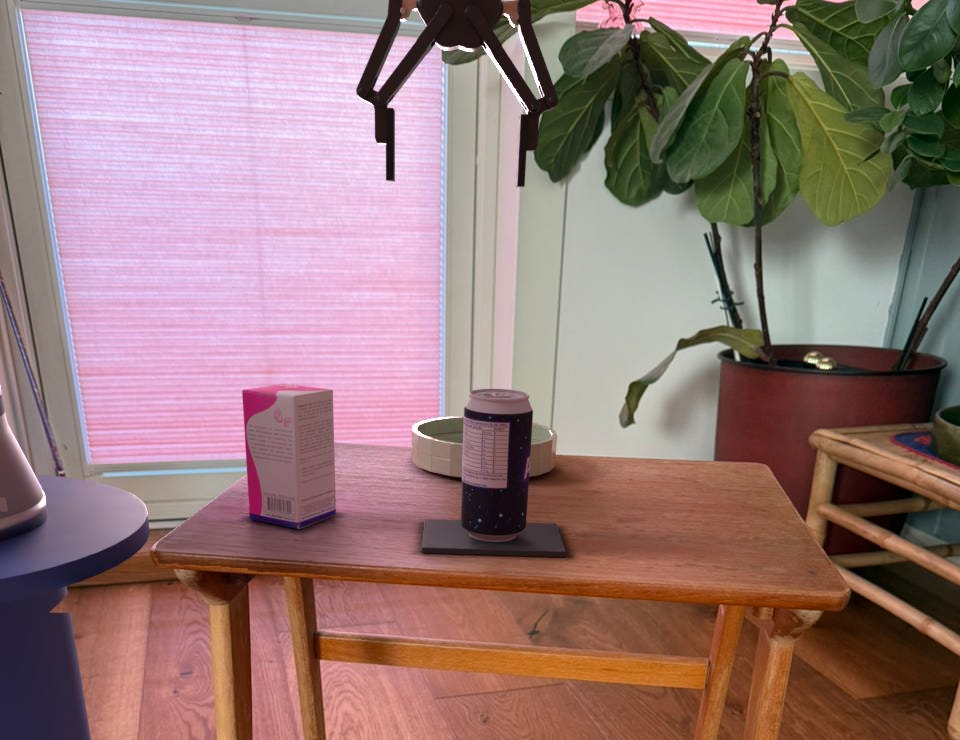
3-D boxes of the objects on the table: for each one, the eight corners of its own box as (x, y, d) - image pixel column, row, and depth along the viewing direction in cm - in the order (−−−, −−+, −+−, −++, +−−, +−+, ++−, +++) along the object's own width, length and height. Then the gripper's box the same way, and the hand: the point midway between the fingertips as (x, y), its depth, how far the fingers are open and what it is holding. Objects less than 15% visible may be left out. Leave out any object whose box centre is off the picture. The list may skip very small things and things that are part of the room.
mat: (421, 553, 75) (421, 547, 75) (424, 524, 83) (424, 519, 82) (565, 557, 76) (566, 551, 76) (555, 528, 83) (556, 523, 83)
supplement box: (338, 514, 84) (335, 388, 79) (298, 530, 79) (292, 396, 75) (288, 504, 87) (282, 380, 82) (247, 519, 82) (238, 389, 77)
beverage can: (532, 543, 77) (542, 399, 72) (467, 546, 76) (472, 399, 71) (516, 523, 82) (524, 387, 77) (454, 525, 81) (458, 387, 76)
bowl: (408, 481, 96) (409, 443, 94) (414, 447, 111) (415, 414, 109) (561, 486, 97) (564, 449, 95) (546, 451, 111) (549, 418, 110)
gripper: (586, -48, 90) (569, 190, 99) (334, -62, 89) (340, 180, 98) (597, -70, 83) (578, 187, 92) (324, -86, 82) (331, 176, 91)
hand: (455, 184), depth 95 cm, fingers open, 13 cm apart
